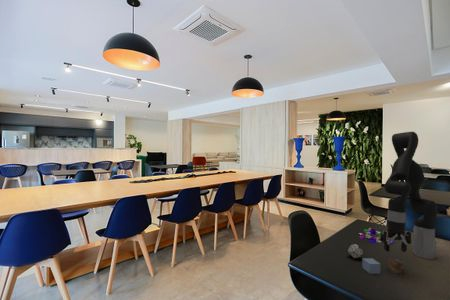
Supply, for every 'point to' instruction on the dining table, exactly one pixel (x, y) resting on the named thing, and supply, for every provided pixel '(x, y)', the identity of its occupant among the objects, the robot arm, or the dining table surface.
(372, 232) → the building block set
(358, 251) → the game die
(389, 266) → the walnut block
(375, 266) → the blue block
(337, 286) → the dining table surface
